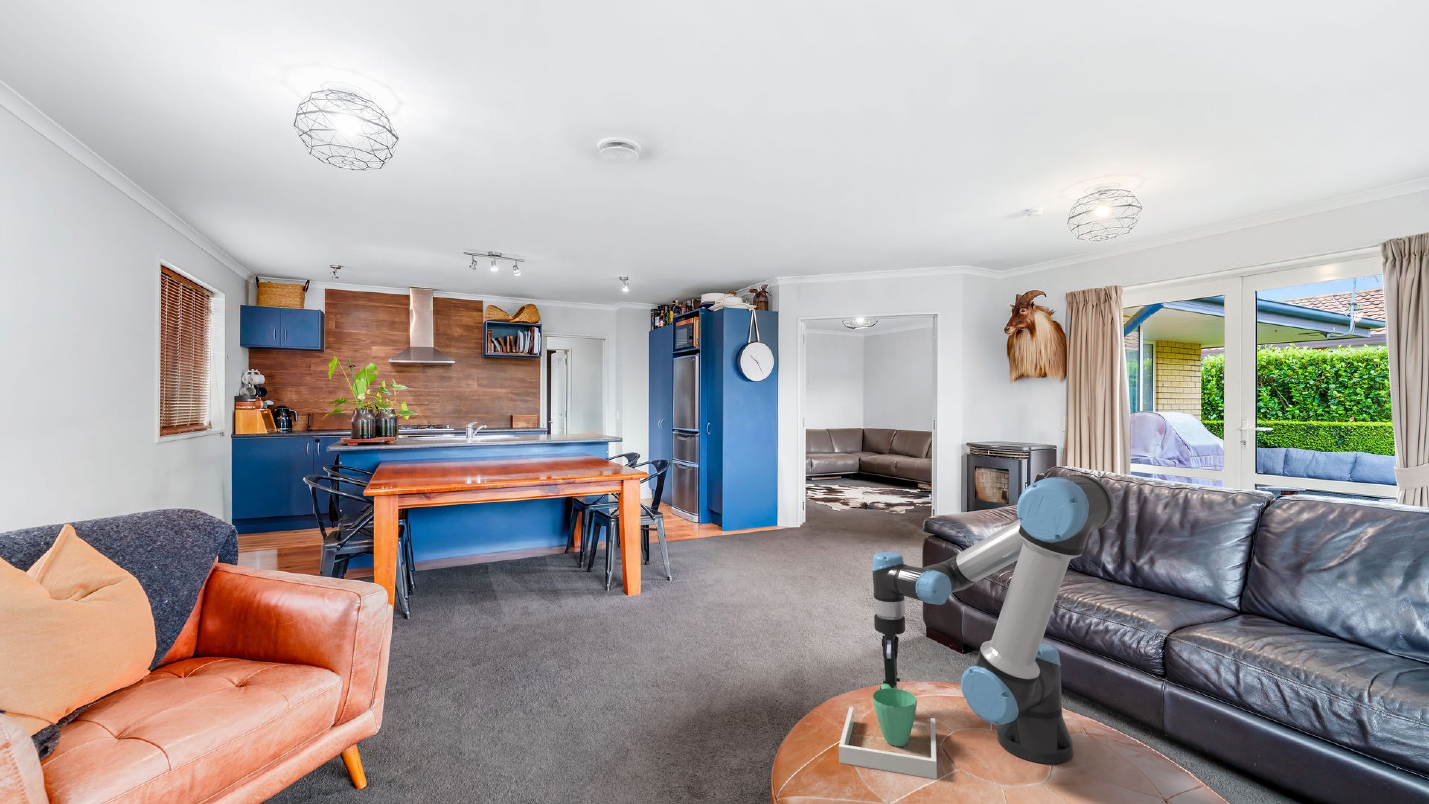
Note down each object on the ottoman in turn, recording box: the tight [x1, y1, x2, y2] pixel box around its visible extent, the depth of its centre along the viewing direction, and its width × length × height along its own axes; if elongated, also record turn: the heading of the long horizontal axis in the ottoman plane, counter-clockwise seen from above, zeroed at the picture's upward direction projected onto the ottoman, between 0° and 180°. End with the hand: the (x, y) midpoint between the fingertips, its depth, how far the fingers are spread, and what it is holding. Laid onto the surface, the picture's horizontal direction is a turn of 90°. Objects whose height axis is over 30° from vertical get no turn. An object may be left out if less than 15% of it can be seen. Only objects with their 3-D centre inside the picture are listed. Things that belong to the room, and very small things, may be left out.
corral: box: [838, 706, 938, 780], centre depth 135 cm, size 20×19×4 cm
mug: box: [872, 683, 918, 747], centre depth 140 cm, size 15×10×10 cm
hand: (892, 709), depth 149 cm, fingers closed
